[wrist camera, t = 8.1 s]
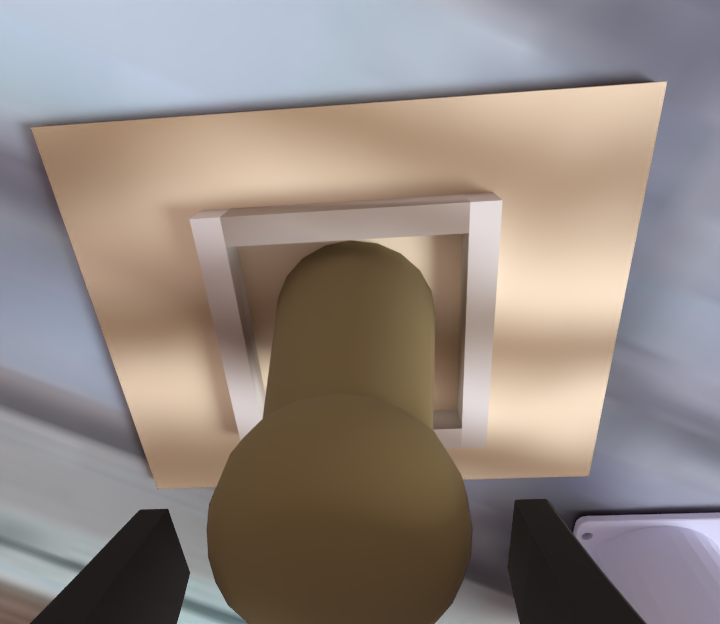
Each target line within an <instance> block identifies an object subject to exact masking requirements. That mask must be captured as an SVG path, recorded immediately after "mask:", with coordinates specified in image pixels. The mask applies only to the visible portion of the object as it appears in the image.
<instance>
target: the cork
mask: <svg viewBox="0 0 720 624" xmlns="http://www.w3.org/2000/svg"><path fill="white" fill-rule="evenodd" d="M434 353H435V309H434V303H433V296H432V291H431V289H430V287H429V286H428V284H427V282H426V280H425V278H424V277H423V275H422V273H421V271H420V270H419V269H418V268H417V267H416V266H415V265H413V264H412V263H411V262H410V261H409V260H408V259H407V258H406V257H404V256H403V255H402V254H401V253H399V252H396V251H394V250H392V249H389V248H387V247H385V246H383V245H380V244H378V243H370V242H361V241H352V240H350V241H345V242H340V243H335V244H331V245H326V246H323V247H322V248H320V249H318V250H316V251H314V252H313V253H311V254H309V255H307V256H306V257H304V258H302V260H301V261H300V262H299V263H298V264H297V265H296V266H295V267H294V269H293V270H292V271H291V272H290V273H289V274H288V275H287V277H286V279H285V282H284V284H283V287H282V289H281V292H280V294H279V297H278V303H277V311H276V318H275V326H274V334H273V342H272V349H271V357H270V365H269V373H268V380H267V388H266V396H265V403H264V411H263V419H262V420H261V421H260V422H259V423H258V424H257V425H256V426H255V427H254V428H253V429H252V430H251V431H250V432H248V433H247V434H246V435H245V436H244V438H243V439H242V440H241V441H240V442H239V444H238V445H237V446H236V447H235V448H234V450H233V451H232V452H231V453H230V455H229V458H228V460H227V462H226V465H225V467H224V470H223V472H222V474H221V477H220V479H219V482H218V484H217V487H216V489H215V491H214V494H213V496H212V499H211V501H210V503H209V511H208V522H207V542H208V558H209V561H210V565H211V568H212V572H213V575H214V579H215V582H216V584H217V586H218V587H219V589H220V591H221V593H222V595H223V597H224V599H225V600H226V602H227V604H228V606H230V607H231V608H232V609H233V610H234V611H235V612H236V613H237V614H238V615H240V616H241V617H242V618H243V619H244V620H245V621H246V622H247V623H248V624H435V623H436V622H437V620H438V619H439V618H440V617H441V616H442V615H443V614H444V612H445V611H446V610H447V609H448V608H449V607H450V605H451V604H452V603H453V601H454V599H455V597H456V595H457V592H458V590H459V588H460V586H461V584H462V581H463V578H464V575H465V572H466V569H467V565H468V562H469V559H470V556H471V545H472V523H471V517H470V510H469V504H468V498H467V494H466V490H465V486H464V482H463V478H462V475H461V474H460V472H459V470H458V469H457V467H456V465H455V463H454V462H453V460H452V458H451V457H450V455H449V454H448V452H447V451H446V449H445V447H444V446H443V444H442V443H441V441H440V440H439V438H438V437H437V435H436V434H435V432H434V431H433V403H434Z"/></svg>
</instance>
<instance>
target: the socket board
mask: <svg viewBox="0 0 720 624" xmlns="http://www.w3.org/2000/svg"><path fill="white" fill-rule="evenodd" d="M666 85H667V82H648V83H634V84H620V85H606V86H593V87H579V88H565V89H551V90H537V91H523V92H510V93H496V94H482V95H468V96H454V97H440V98H427V99H413V100H399V101H385V102H371V103H357V104H344V105H330V106H316V107H302V108H288V109H274V110H261V111H247V112H233V113H219V114H205V115H191V116H178V117H164V118H150V119H136V120H122V121H108V122H95V123H81V124H67V125H53V126H41V127H32V128H31V130H32V133H33V135H34V138H35V141H36V144H37V147H38V150H39V153H40V155H41V158H42V161H43V164H44V167H45V170H46V173H47V175H48V178H49V181H50V184H51V187H52V190H53V193H54V195H55V198H56V201H57V204H58V207H59V210H60V213H61V215H62V218H63V221H64V224H65V227H66V230H67V232H68V235H69V238H70V241H71V244H72V247H73V250H74V252H75V255H76V258H77V261H78V264H79V267H80V270H81V272H82V275H83V278H84V281H85V284H86V287H87V290H88V292H89V295H90V298H91V301H92V304H93V307H94V309H95V312H96V315H97V318H98V321H99V324H100V327H101V329H102V332H103V335H104V338H105V341H106V344H107V347H108V349H109V352H110V355H111V358H112V361H113V364H114V367H115V369H116V372H117V375H118V378H119V381H120V384H121V386H122V389H123V392H124V395H125V398H126V401H127V404H128V406H129V409H130V412H131V415H132V418H133V421H134V424H135V426H136V429H137V432H138V435H139V438H140V441H141V444H142V446H143V449H144V452H145V455H146V458H147V461H148V464H149V466H150V469H151V472H152V475H153V478H154V481H155V483H156V486H157V489H170V488H203V487H217V484H218V482H219V479H220V477H221V474H222V472H223V470H224V467H225V465H226V462H227V460H228V458H229V455H230V453H231V452H232V451H233V450H234V448H235V447H236V446H237V445H238V444H239V442H240V441H241V440H242V439H243V438H244V436H245V435H246V434H247V433H248V432H250V431H251V430H252V429H253V428H254V427H255V426H256V425H257V424H258V423H259V422H260V421H261V420H262V419H263V411H264V403H265V396H266V388H267V380H268V373H269V365H270V357H271V349H272V342H273V334H274V326H275V318H276V311H277V303H278V297H279V294H280V292H281V289H282V287H283V284H284V282H285V279H286V277H287V275H288V274H289V273H290V272H291V271H292V270H293V269H294V267H295V266H296V265H297V264H298V263H299V262H300V261H301V260H302V258H304V257H306V256H307V255H309V254H311V253H313V252H314V251H316V250H318V249H320V248H322V247H323V246H326V245H331V244H335V243H340V242H345V241H350V240H352V241H361V242H370V243H378V244H380V245H383V246H385V247H387V248H389V249H392V250H394V251H396V252H399V253H401V254H402V255H403V256H404V257H406V258H407V259H408V260H409V261H410V262H411V263H412V264H413V265H415V266H416V267H417V268H418V269H419V270H420V271H421V273H422V275H423V277H424V278H425V280H426V282H427V284H428V286H429V287H430V289H431V291H432V296H433V303H434V309H435V353H434V403H433V431H434V432H435V434H436V435H437V437H438V438H439V440H440V441H441V443H442V444H443V446H444V447H445V449H446V451H447V452H448V454H449V455H450V457H451V458H452V460H453V462H454V463H455V465H456V467H457V469H458V470H459V472H460V474H461V475H462V478H463V480H470V479H503V478H537V477H570V476H589V472H590V467H591V462H592V457H593V452H594V447H595V442H596V437H597V431H598V426H599V421H600V416H601V411H602V406H603V401H604V396H605V391H606V386H607V381H608V376H609V371H610V366H611V361H612V356H613V351H614V346H615V341H616V336H617V331H618V326H619V321H620V316H621V311H622V306H623V301H624V296H625V291H626V286H627V281H628V276H629V271H630V266H631V261H632V256H633V251H634V245H635V240H636V235H637V230H638V225H639V220H640V215H641V210H642V205H643V200H644V195H645V190H646V185H647V180H648V175H649V170H650V165H651V160H652V155H653V150H654V145H655V140H656V135H657V130H658V125H659V120H660V115H661V110H662V105H663V100H664V95H665V90H666Z"/></svg>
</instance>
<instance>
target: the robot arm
mask: <svg viewBox="0 0 720 624" xmlns="http://www.w3.org/2000/svg"><path fill="white" fill-rule="evenodd" d="M508 570H509V575H510V580H511V585H512V590H513V594H514V599H515V603H516V608H517V612H518V617H519V621H520V624H720V513H682V514H643V515H604V516H583V517H581V518H579V519H578V520H577V521H576V523H575V527H574V532H573V533H572V531H571V530H570V529H569V528H568V526H567V525H566V524H565V522H564V521H563V519H562V518H561V517H560V515H559V514H558V513H557V511H556V510H555V509H554V507H553V506H552V504H551V503H550V502H549V501H547V500H546V499H529V500H515V505H514V514H513V523H512V533H511V542H510V551H509V560H508ZM189 575H190V571H189V568H188V566H187V563H186V560H185V557H184V554H183V551H182V548H181V545H180V542H179V539H178V536H177V534H176V531H175V528H174V525H173V522H172V519H171V516H170V513H169V510H168V509H147V510H139V511H138V512H137V513H136V514H135V515H134V516H133V517H132V518H131V520H130V521H129V522H128V523H127V524H126V525H125V526H124V527H123V528H122V529H121V530H120V531H119V532H118V533H117V534H116V535H115V536H114V537H113V538H112V539H111V540H110V541H109V542H108V544H107V545H106V546H105V547H104V548H103V549H102V550H101V551H100V552H99V553H98V554H97V555H96V556H95V557H94V558H93V559H92V560H91V561H90V562H89V564H88V565H87V566H86V567H85V568H84V569H83V570H82V571H81V572H80V573H79V574H78V575H77V576H76V577H75V578H74V579H73V580H72V581H71V582H70V583H69V584H68V585H67V586H66V587H65V588H64V589H63V590H62V591H61V592H60V593H59V595H58V596H57V597H56V598H55V599H54V600H53V601H52V602H51V603H50V604H49V605H48V606H47V607H46V608H45V609H44V610H43V611H42V612H41V613H40V614H39V615H38V616H37V617H36V618H35V619H34V620H33V621H32V622H31V623H30V624H177V621H178V617H179V614H180V610H181V606H182V603H183V599H184V595H185V591H186V587H187V583H188V579H189Z"/></svg>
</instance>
